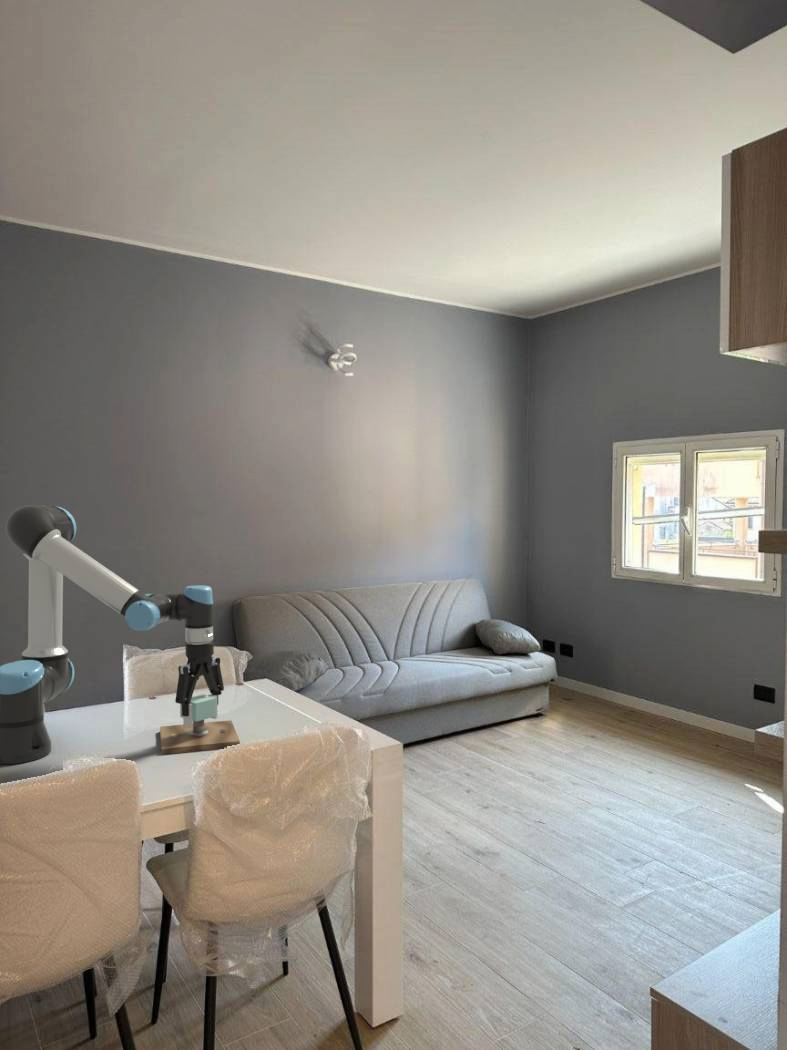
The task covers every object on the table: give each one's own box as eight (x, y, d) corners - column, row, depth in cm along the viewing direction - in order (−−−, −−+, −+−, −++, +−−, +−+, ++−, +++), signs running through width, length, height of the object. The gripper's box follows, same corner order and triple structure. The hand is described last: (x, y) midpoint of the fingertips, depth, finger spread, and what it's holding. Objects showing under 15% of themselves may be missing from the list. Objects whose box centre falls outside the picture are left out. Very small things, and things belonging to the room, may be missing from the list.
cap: (196, 721, 196) (195, 702, 196) (180, 717, 200) (180, 697, 200) (220, 714, 203) (220, 695, 202) (205, 710, 207) (205, 691, 207)
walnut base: (161, 754, 188) (161, 731, 188) (160, 731, 207) (160, 710, 207) (239, 746, 195) (239, 724, 195) (231, 725, 214) (231, 705, 214)
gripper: (180, 650, 189) (181, 735, 190) (236, 636, 208) (237, 714, 209) (159, 647, 193) (161, 731, 194) (216, 634, 212) (218, 710, 213)
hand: (200, 722), depth 201 cm, fingers closed on cap, 9 cm apart
